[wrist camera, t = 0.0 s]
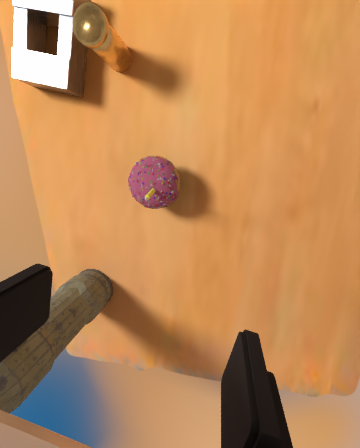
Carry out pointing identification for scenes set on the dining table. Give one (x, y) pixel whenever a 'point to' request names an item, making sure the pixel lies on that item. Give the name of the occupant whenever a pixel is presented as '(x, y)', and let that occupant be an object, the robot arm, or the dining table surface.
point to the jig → (36, 46)
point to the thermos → (52, 335)
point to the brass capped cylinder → (100, 36)
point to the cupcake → (154, 182)
